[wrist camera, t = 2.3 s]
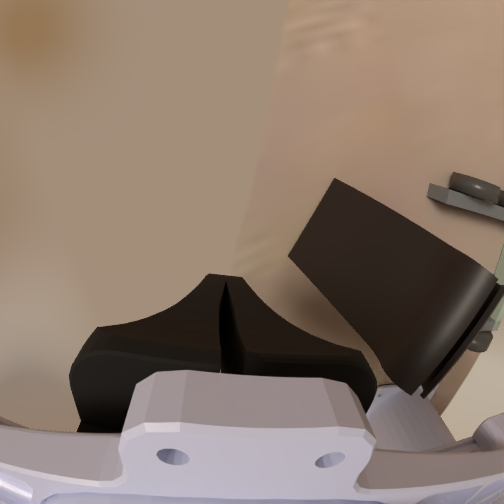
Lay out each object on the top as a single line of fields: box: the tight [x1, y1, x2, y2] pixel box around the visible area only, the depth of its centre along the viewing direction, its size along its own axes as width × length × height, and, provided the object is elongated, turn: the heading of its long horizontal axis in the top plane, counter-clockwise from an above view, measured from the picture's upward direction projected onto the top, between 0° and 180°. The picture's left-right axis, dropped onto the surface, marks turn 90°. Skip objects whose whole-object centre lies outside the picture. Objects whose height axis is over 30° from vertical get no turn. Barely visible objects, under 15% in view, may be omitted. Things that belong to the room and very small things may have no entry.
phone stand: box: [288, 178, 504, 399], centre depth 16 cm, size 9×6×12 cm, turn 61°
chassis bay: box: [427, 172, 504, 352], centre depth 21 cm, size 14×12×4 cm
